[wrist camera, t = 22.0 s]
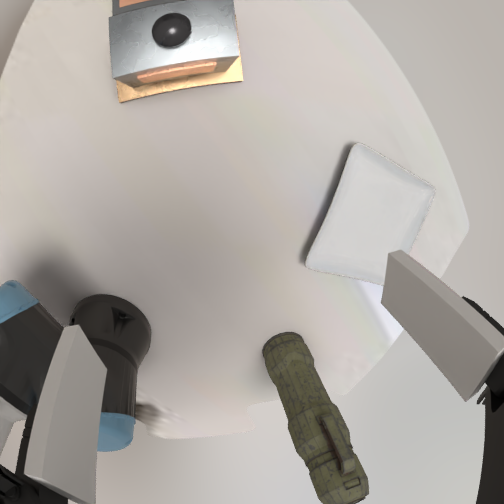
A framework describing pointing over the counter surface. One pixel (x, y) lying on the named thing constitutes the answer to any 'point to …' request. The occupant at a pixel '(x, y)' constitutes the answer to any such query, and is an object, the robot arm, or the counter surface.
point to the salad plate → (370, 217)
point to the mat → (136, 5)
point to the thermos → (315, 422)
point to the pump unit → (174, 47)
